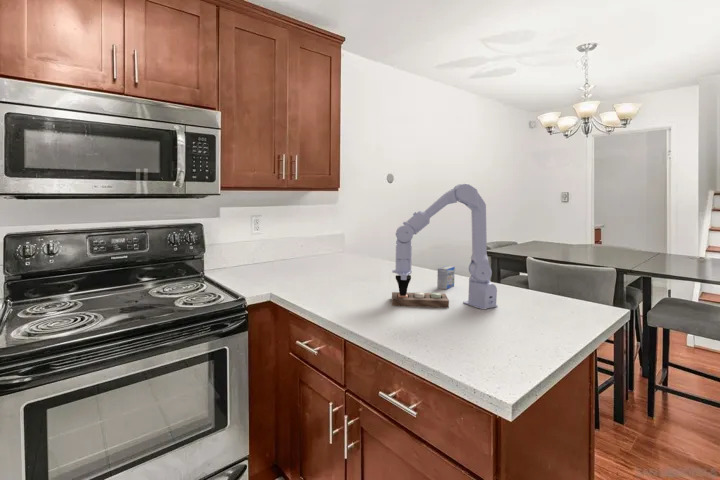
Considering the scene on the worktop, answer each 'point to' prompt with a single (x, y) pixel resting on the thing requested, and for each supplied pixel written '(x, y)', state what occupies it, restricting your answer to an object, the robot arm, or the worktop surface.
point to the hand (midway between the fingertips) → (402, 295)
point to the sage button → (435, 295)
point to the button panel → (420, 300)
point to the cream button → (418, 295)
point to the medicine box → (445, 277)
